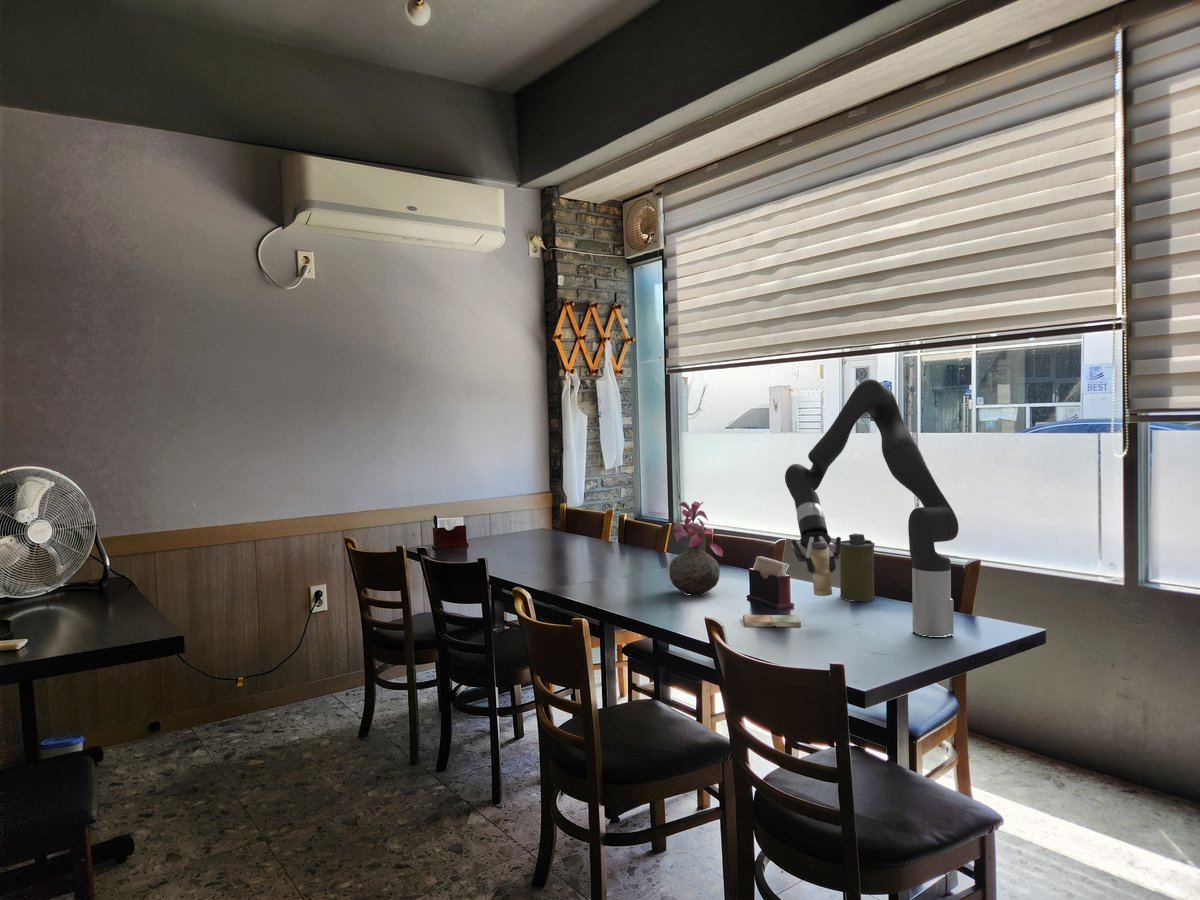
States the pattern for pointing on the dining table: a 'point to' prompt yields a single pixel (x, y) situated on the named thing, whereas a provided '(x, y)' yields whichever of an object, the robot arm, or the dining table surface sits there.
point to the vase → (694, 557)
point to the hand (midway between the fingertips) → (822, 571)
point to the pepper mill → (821, 569)
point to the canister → (857, 568)
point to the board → (772, 620)
